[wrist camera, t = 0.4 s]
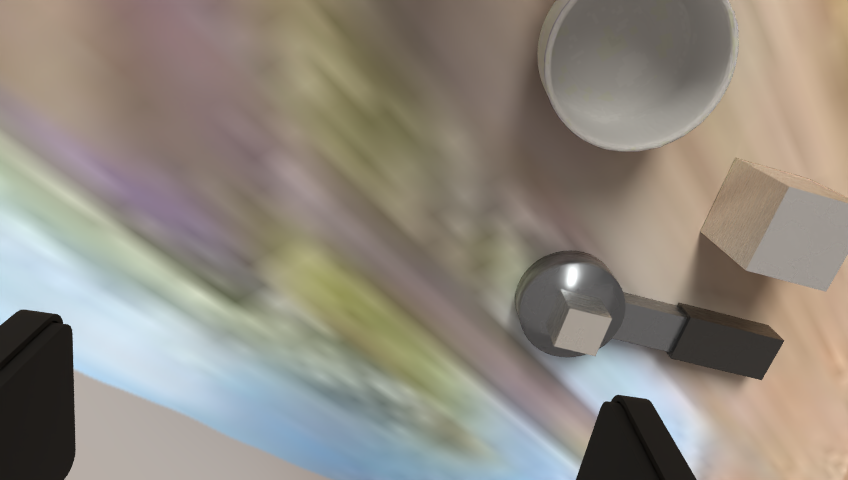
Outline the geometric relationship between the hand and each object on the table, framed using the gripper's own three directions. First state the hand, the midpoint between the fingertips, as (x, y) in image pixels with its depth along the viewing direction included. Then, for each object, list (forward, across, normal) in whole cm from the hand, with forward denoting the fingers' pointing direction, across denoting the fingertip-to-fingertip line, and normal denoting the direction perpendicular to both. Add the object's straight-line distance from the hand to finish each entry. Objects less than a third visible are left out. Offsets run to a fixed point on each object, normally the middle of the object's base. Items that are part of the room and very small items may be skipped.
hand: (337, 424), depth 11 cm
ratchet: (+35, -23, +14) cm, 44 cm away
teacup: (+35, -13, -7) cm, 38 cm away
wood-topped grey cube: (+35, -28, +3) cm, 45 cm away
